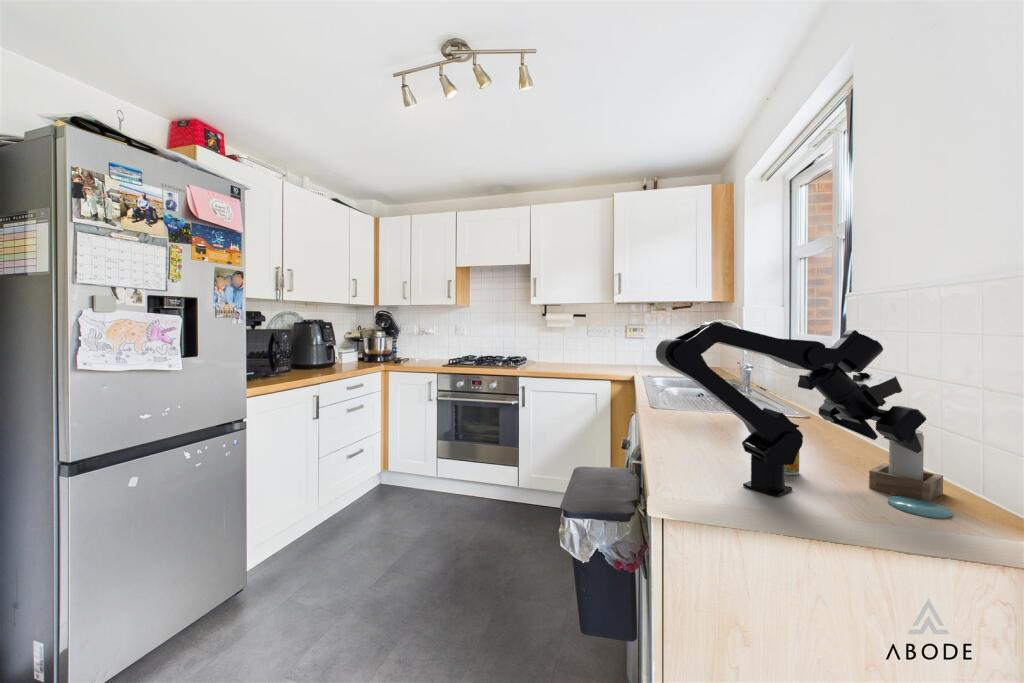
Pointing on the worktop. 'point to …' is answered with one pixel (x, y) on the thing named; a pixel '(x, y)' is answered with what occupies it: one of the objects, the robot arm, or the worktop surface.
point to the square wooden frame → (906, 484)
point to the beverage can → (906, 460)
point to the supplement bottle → (793, 467)
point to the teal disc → (919, 507)
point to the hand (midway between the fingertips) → (896, 444)
